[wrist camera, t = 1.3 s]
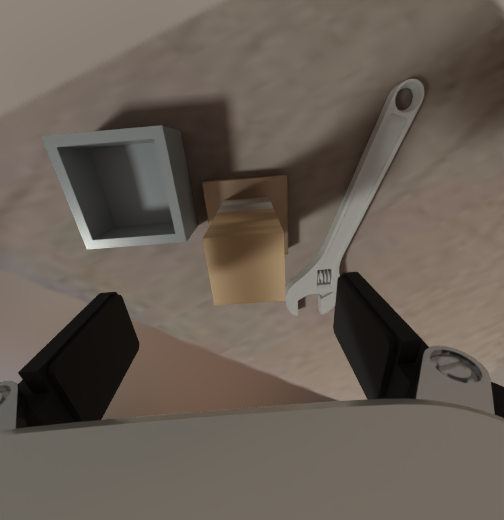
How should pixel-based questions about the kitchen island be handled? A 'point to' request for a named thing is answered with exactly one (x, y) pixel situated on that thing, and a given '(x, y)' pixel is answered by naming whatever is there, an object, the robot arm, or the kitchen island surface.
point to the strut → (245, 253)
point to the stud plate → (249, 195)
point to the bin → (125, 185)
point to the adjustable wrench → (355, 201)
